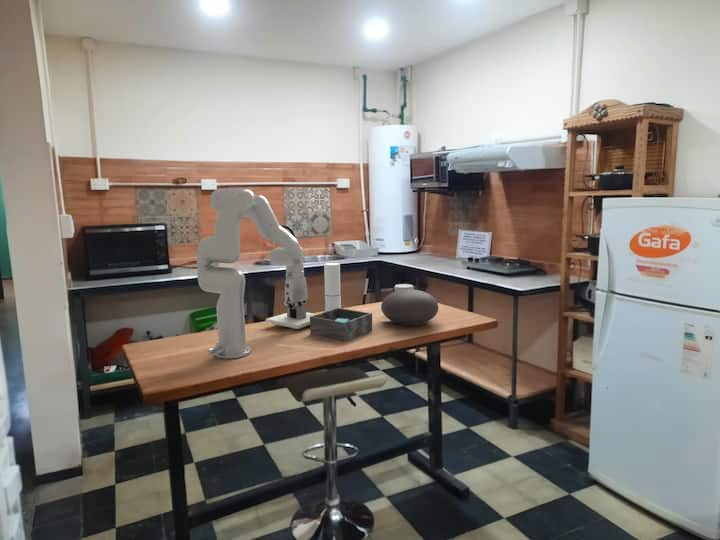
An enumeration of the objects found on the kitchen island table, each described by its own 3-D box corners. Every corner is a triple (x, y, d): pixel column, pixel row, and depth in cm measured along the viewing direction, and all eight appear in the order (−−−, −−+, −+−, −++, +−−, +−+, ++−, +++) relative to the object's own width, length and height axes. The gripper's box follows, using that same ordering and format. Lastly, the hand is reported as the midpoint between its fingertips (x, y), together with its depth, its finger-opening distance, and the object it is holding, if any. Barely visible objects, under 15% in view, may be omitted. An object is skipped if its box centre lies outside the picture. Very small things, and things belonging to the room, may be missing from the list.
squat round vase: (405, 313, 232) (405, 282, 229) (449, 322, 214) (450, 289, 212) (369, 324, 214) (369, 290, 212) (414, 335, 197) (414, 298, 195)
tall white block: (342, 315, 230) (340, 262, 226) (339, 319, 223) (338, 265, 219) (327, 315, 231) (325, 262, 227) (324, 319, 224) (322, 265, 220)
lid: (297, 330, 200) (297, 313, 199) (266, 323, 211) (265, 307, 210) (326, 320, 215) (326, 304, 214) (296, 314, 226) (295, 299, 225)
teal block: (345, 334, 197) (345, 322, 196) (333, 333, 198) (333, 321, 197) (349, 330, 202) (349, 319, 201) (337, 330, 203) (337, 318, 202)
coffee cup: (414, 311, 234) (414, 287, 232) (395, 312, 234) (395, 287, 232) (412, 307, 244) (412, 283, 242) (393, 307, 243) (393, 284, 242)
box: (345, 343, 188) (345, 323, 186) (310, 335, 198) (309, 316, 197) (372, 332, 202) (372, 313, 201) (338, 325, 212) (337, 307, 211)
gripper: (287, 278, 201) (289, 322, 204) (314, 273, 214) (315, 313, 217) (274, 277, 205) (276, 319, 208) (302, 271, 218) (303, 311, 221)
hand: (296, 316), depth 212 cm, fingers closed on lid, 3 cm apart
